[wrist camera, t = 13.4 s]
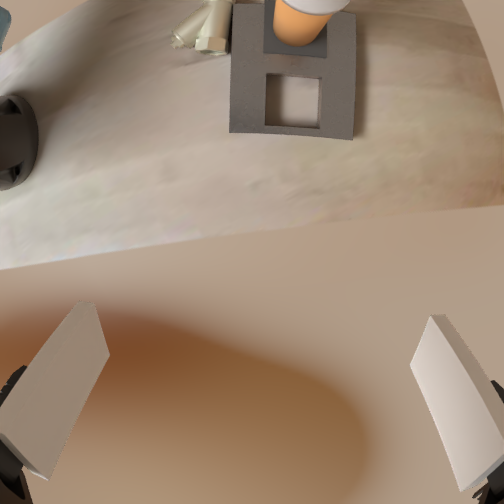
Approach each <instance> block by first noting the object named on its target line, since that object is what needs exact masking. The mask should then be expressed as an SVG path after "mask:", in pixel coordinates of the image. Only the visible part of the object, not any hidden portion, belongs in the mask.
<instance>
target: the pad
mask: <svg viewBox="0 0 504 504" xmlns="http://www.w3.org/2000/svg"><path fill="white" fill-rule="evenodd" d="M275 4H276V0H265V9H264V44H263V53H275V54H291V55H304V56H314V57H323V58H327V23H326V24H325V26H324V27H323V28H322V30H321V31H320V32H319V34H318V35H317V36H316V38H315V39H314V40H313V41H312V42H311V43H309V44H308V45H305V46H300V47H295V46H290V45H287V44H285V43H283V42H281V41H280V40H279V39H278V38H277V36H276V35H275V33H274V30H273V20H274V12H275Z"/></svg>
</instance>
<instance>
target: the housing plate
mask: <svg viewBox="0 0 504 504" xmlns="http://www.w3.org/2000/svg"><path fill="white" fill-rule="evenodd" d="M264 9H265V4H233V24H232V50H231V81H230V122H229V133H264V134H285V135H300V136H313V137H325V138H335V139H344V140H353V126H354V108H355V85H356V14H353V13H347V12H341V11H339V12H336V13H334V14H333V15H332V16H331V17H330V19H329V20H328V21H327V58H323V57H314V56H304V55H291V54H275V53H263V44H264ZM266 75H274V76H291V77H304V78H314V79H319V97H318V119H317V129H315V128H302V127H288V126H268V125H265V100H266Z"/></svg>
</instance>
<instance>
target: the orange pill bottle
mask: <svg viewBox="0 0 504 504" xmlns="http://www.w3.org/2000/svg"><path fill="white" fill-rule="evenodd" d="M350 1H351V0H276V4H275V12H274V20H273V30H274V33H275V35H276V36H277V38H278V39H279V40H280V41H281V42H283V43H285V44H287V45H290V46H295V47H300V46H305V45H308V44H309V43H311V42H312V41H313V40H314V39H315V38H316V36H317V35H318V34H319V32H320V31H321V30H322V28H323V27H324V26H325V24H326V23H327V21H328V20H329V19H330V17H331V16H332V15H333V14H334V13H336V12H339V11H340V10H342V9H343V8H344V7H345V6H346V5H347V4H348V3H349V2H350Z"/></svg>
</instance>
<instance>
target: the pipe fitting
mask: <svg viewBox="0 0 504 504" xmlns="http://www.w3.org/2000/svg"><path fill="white" fill-rule="evenodd" d="M202 2H203V4H204V5H203V6H202V7H201V8H199V9H198V10H197V11H195V12H194V13H193V14H191V15H190V16H189V17H188V18H186V19H185V20H184V21H183V22H181V23H180V24H179V25H178V26H177V27H175V28H174V29H173V30H172V32H173V34H174V36H173V37H172V38H171V39H172V41H173V42H172V43H170V44H171V45H172V46H173V47H174V48H175V49H176V48H177V47H180V48H183V47H184V46H185V45H186V46H187V47H188V48H191V47H192V46H194V45H195V51H196V52H197V53H200V54H205V55H225V54H228V49H229V42H228V35H229V28H230V22H231V15H232V9H233V4H235V2H236V0H203V1H202Z"/></svg>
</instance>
